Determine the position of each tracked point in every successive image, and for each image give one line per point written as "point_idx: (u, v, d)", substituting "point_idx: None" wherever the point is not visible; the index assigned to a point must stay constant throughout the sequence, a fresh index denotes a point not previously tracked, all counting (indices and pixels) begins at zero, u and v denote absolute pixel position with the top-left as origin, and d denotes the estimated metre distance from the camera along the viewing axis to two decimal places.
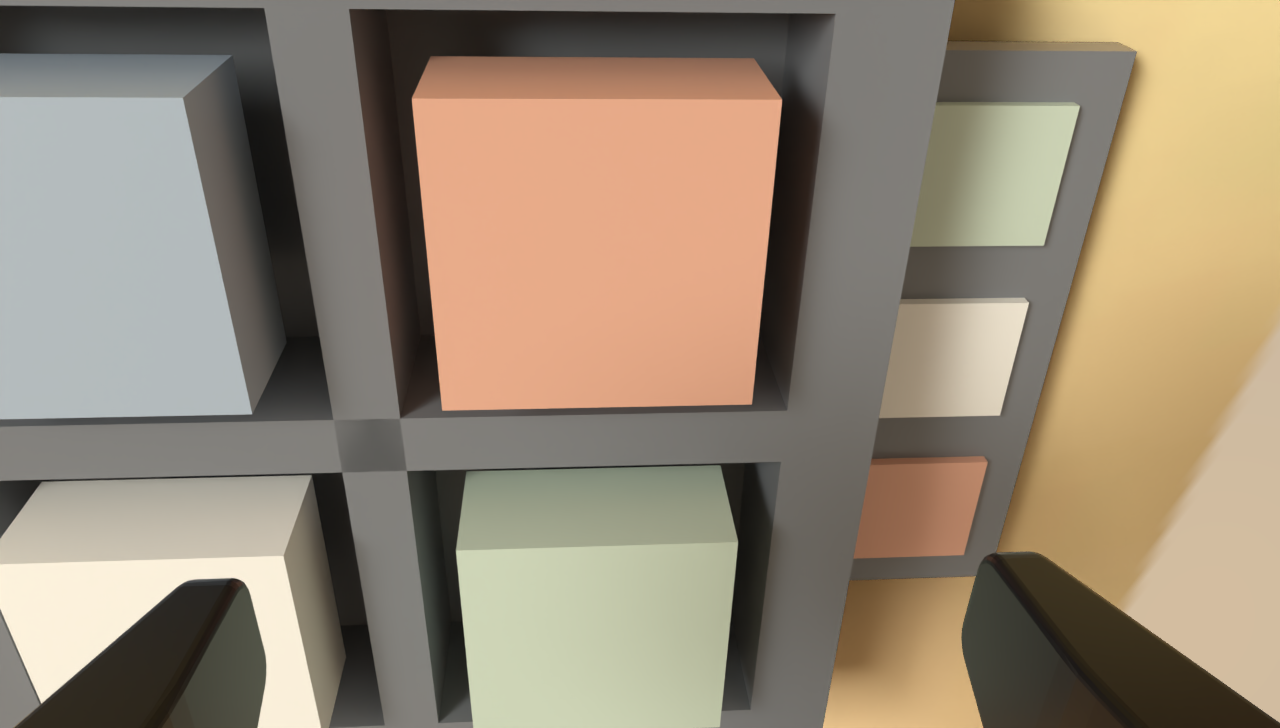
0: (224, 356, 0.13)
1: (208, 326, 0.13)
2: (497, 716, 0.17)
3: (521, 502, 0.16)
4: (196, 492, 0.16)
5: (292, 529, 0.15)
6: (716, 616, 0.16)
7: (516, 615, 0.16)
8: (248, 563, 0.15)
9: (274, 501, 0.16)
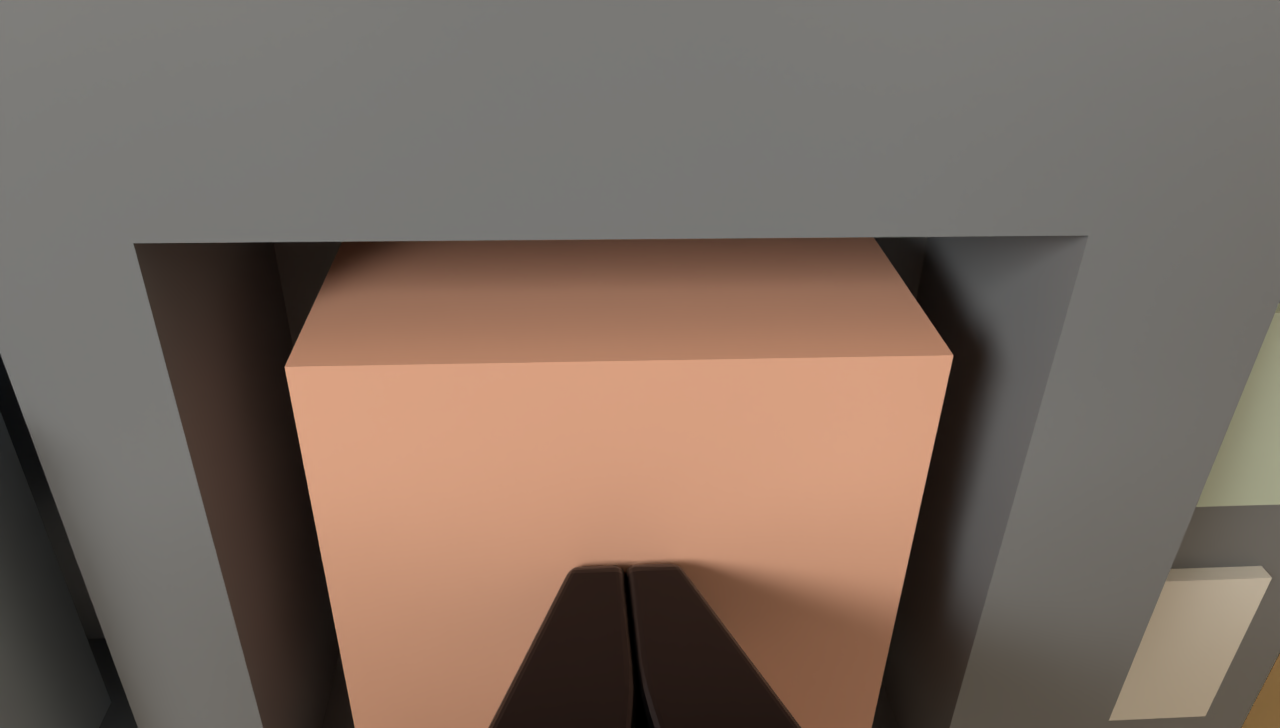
0: None
1: None
2: None
3: None
4: None
5: None
6: None
7: None
8: None
9: None
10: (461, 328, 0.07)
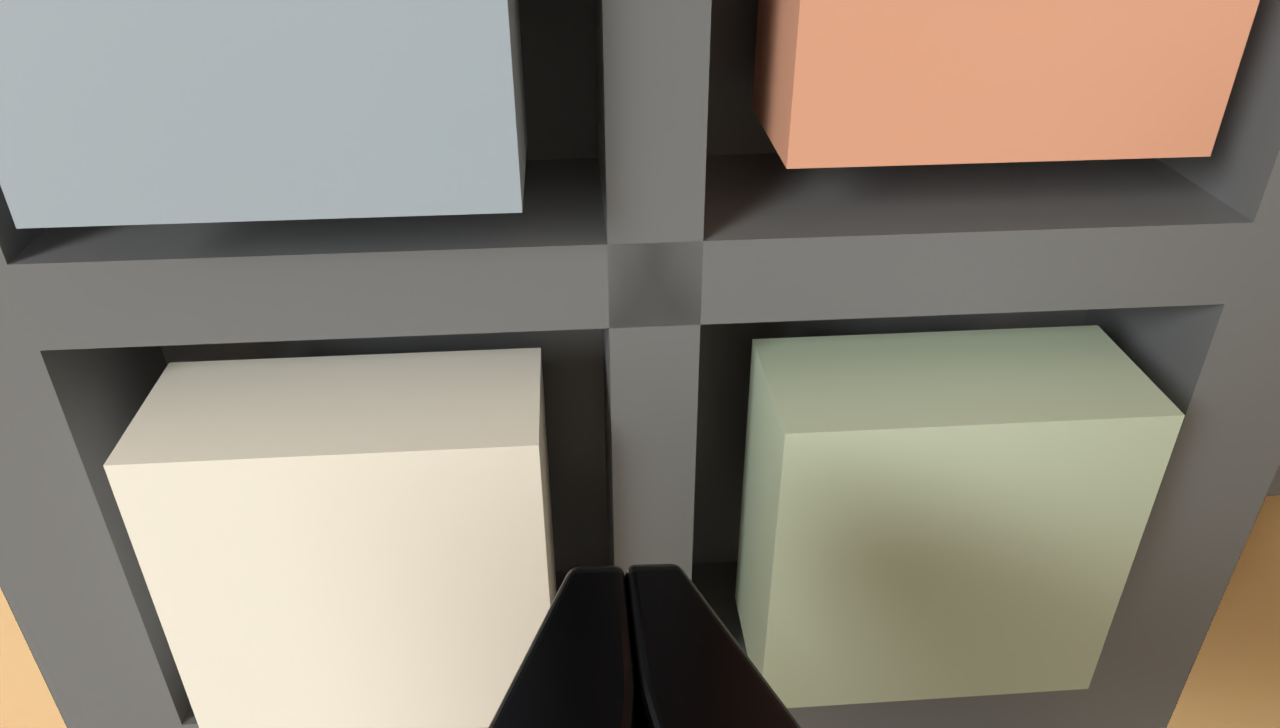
0: (492, 110, 0.08)
1: (474, 55, 0.08)
2: (795, 679, 0.12)
3: (847, 373, 0.11)
4: (387, 370, 0.11)
5: (539, 412, 0.11)
6: (1124, 529, 0.11)
7: (851, 532, 0.11)
8: (488, 457, 0.10)
9: (501, 379, 0.11)
10: None
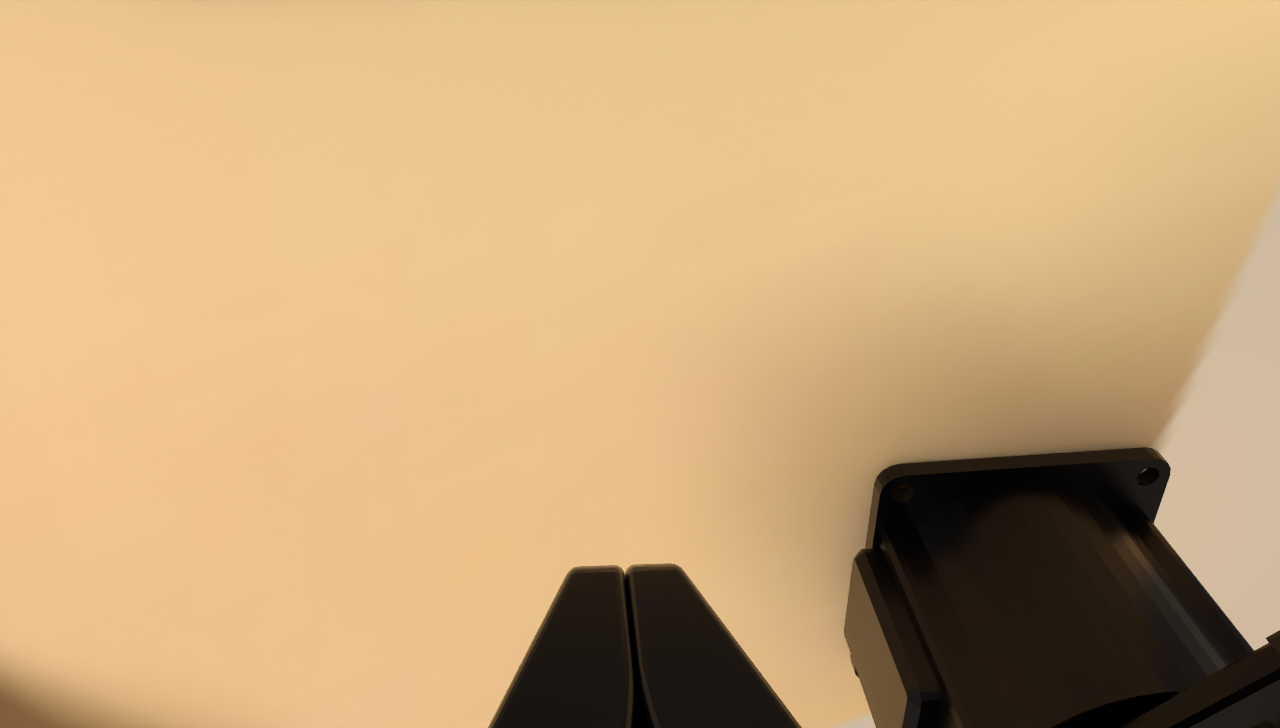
0: None
1: None
2: None
3: None
4: None
5: None
6: None
7: None
8: None
9: None
10: None
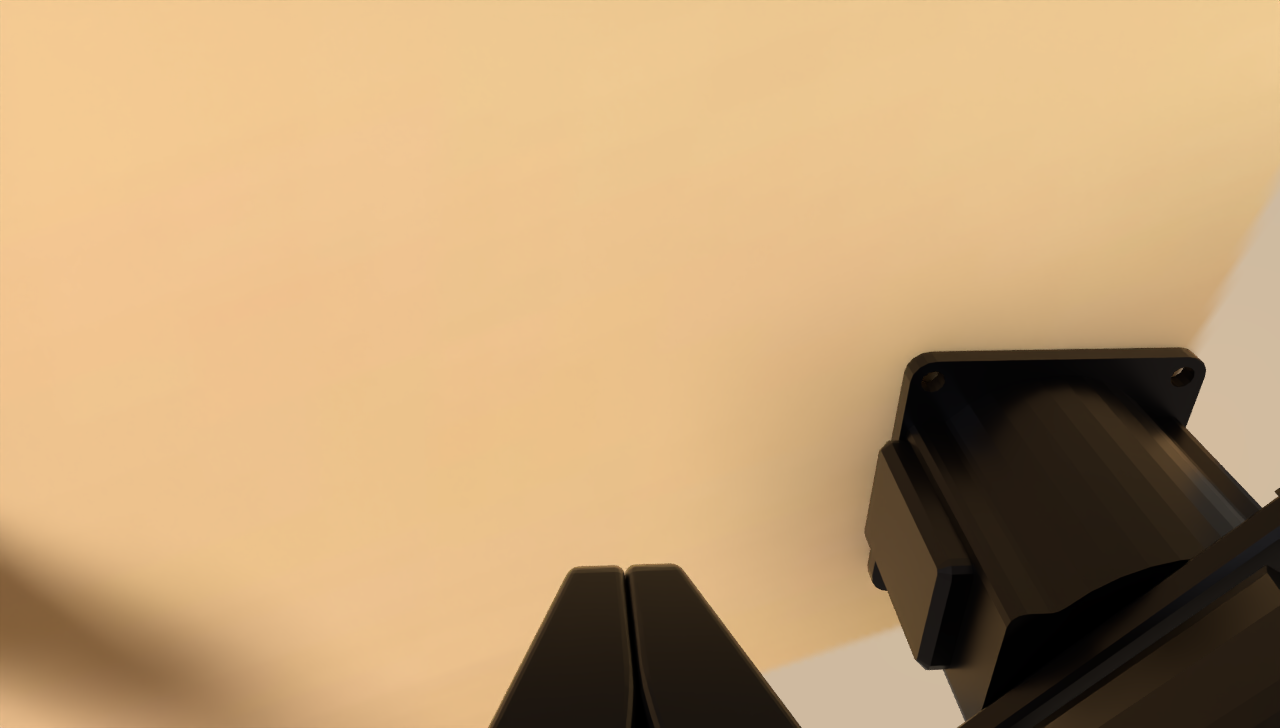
0: None
1: None
2: None
3: None
4: None
5: None
6: None
7: None
8: None
9: None
10: None
